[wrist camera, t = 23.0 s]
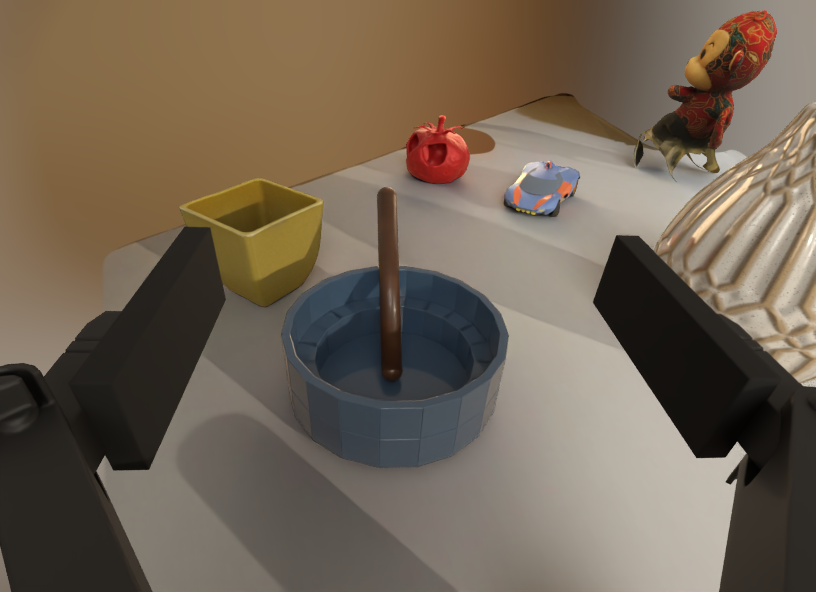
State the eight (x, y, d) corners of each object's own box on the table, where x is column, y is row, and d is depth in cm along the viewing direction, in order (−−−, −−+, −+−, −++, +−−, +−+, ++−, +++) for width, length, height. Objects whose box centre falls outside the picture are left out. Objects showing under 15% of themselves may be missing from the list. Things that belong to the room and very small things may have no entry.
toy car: (493, 212, 62) (499, 173, 59) (526, 179, 73) (533, 146, 70) (552, 227, 59) (562, 187, 56) (577, 191, 70) (586, 156, 67)
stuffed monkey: (705, 152, 85) (798, -2, 66) (729, 208, 74) (849, 42, 55) (622, 140, 86) (690, -14, 68) (633, 193, 76) (719, 27, 57)
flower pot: (261, 328, 40) (245, 235, 35) (198, 293, 44) (175, 204, 38) (330, 284, 46) (325, 199, 41) (269, 257, 50) (258, 176, 45)
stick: (378, 381, 33) (374, 185, 38) (384, 383, 35) (380, 194, 39) (399, 380, 33) (393, 182, 37) (405, 382, 35) (398, 191, 39)
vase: (693, 283, 49) (790, 81, 38) (870, 378, 38) (1083, 132, 27) (588, 322, 43) (668, 91, 31) (765, 452, 31) (990, 165, 20)
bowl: (274, 476, 28) (260, 410, 25) (305, 323, 41) (299, 264, 37) (516, 470, 29) (536, 406, 26) (474, 323, 42) (483, 266, 38)
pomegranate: (437, 162, 78) (442, 104, 73) (479, 180, 72) (488, 118, 67) (390, 172, 73) (392, 111, 68) (432, 193, 67) (437, 127, 61)
